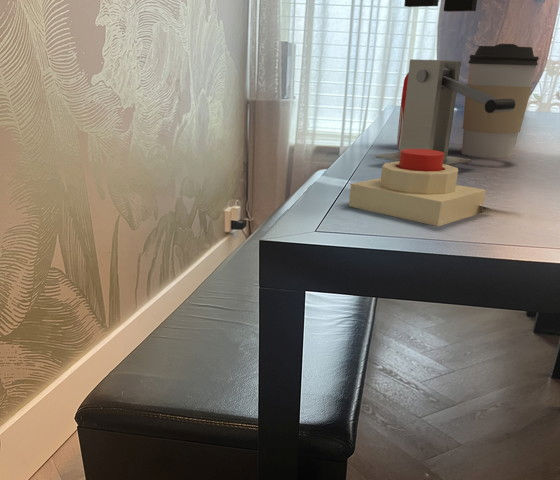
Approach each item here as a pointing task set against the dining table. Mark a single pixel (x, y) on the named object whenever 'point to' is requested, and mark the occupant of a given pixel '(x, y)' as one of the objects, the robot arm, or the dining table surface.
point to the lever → (477, 95)
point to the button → (421, 160)
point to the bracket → (428, 109)
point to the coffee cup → (503, 85)
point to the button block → (418, 195)
